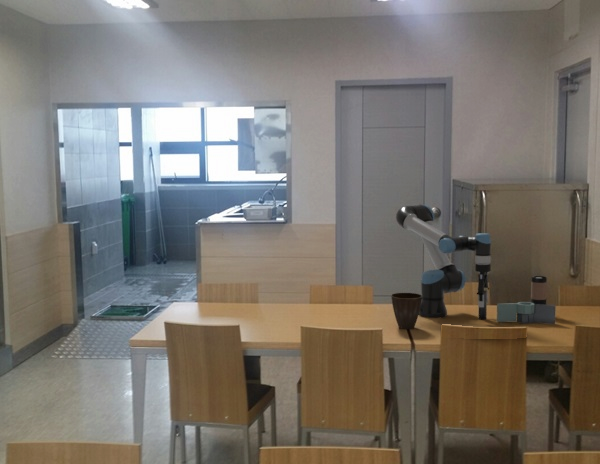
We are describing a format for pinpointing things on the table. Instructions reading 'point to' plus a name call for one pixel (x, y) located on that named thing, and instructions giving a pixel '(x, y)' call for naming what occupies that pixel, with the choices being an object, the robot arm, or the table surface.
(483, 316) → the hinge pin
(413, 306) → the plant pot
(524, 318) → the hinge leaf fixed
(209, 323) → the table surface
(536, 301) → the travel mug
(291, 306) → the table surface
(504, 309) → the hinge leaf swing
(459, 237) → the robot arm
